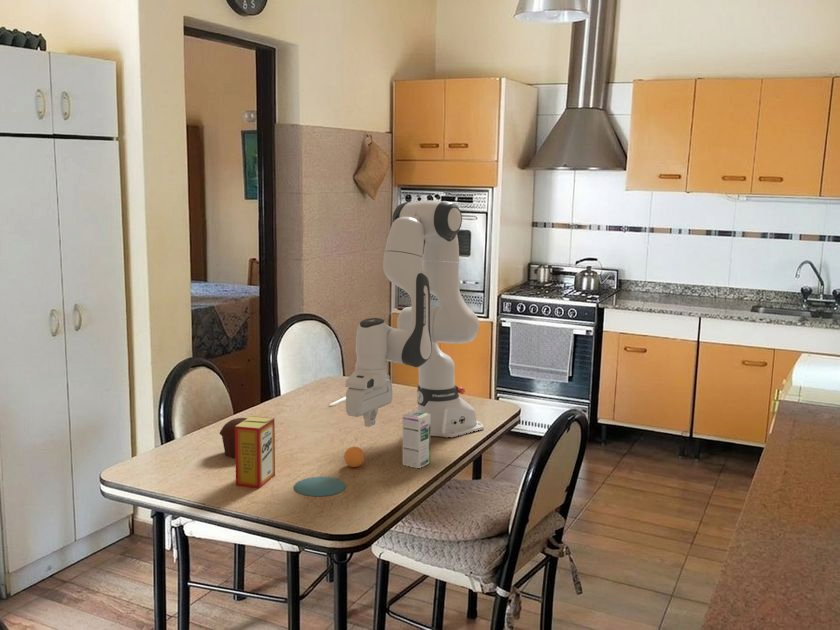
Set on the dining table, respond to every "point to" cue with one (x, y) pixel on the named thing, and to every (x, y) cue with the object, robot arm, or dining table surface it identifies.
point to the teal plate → (319, 486)
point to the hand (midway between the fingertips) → (369, 425)
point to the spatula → (338, 402)
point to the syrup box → (416, 439)
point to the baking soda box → (255, 451)
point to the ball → (354, 457)
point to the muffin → (230, 436)
